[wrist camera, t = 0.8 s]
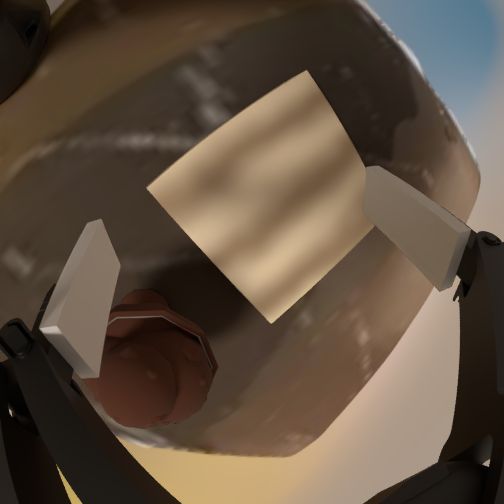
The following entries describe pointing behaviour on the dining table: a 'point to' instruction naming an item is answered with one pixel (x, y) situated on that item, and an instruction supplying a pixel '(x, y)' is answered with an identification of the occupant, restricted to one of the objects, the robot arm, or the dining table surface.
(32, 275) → the dining table surface
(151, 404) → the ice cream bowl
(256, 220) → the maple stand board
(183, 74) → the dining table surface
